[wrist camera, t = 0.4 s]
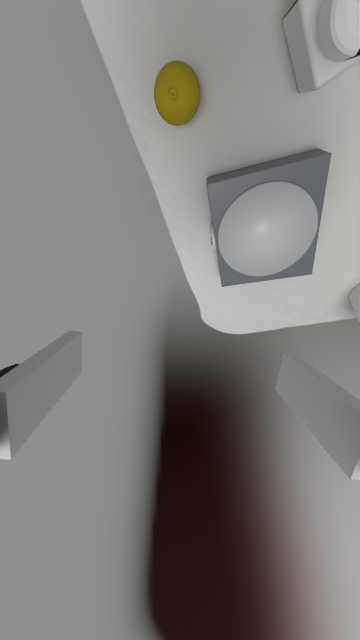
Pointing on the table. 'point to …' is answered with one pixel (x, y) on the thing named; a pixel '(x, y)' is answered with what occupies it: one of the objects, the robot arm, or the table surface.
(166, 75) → the lemon
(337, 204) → the table surface
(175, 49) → the table surface
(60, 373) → the robot arm
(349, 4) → the medicine bottle
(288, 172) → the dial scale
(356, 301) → the clear plastic beaker
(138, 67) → the table surface
